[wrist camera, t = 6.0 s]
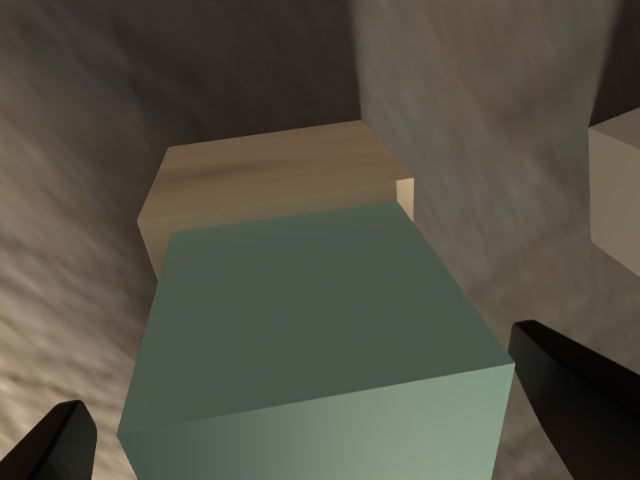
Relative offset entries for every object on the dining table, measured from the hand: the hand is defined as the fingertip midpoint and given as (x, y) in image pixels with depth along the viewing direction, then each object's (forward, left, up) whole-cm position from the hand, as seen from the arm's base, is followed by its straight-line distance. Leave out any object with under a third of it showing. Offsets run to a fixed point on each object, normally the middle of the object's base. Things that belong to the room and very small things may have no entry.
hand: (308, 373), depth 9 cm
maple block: (0, 0, -7) cm, 7 cm away
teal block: (0, 0, -2) cm, 2 cm away
